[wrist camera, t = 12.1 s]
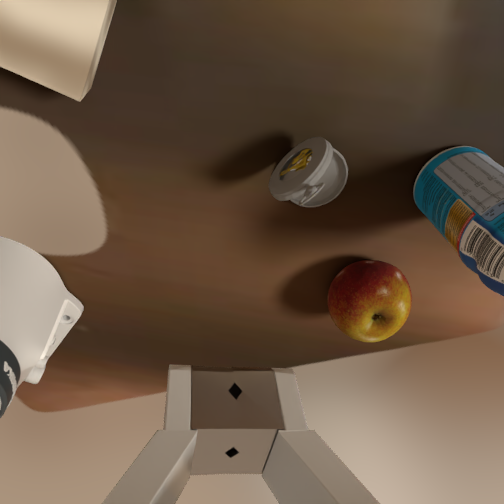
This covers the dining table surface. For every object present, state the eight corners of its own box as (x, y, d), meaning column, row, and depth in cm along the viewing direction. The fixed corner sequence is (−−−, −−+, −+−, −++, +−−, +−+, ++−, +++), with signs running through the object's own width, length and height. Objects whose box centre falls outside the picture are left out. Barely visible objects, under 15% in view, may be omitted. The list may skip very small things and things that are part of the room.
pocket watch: (332, 207, 44) (362, 263, 36) (256, 194, 42) (270, 251, 34) (360, 133, 40) (402, 179, 32) (277, 116, 38) (299, 159, 30)
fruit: (367, 233, 47) (395, 278, 40) (410, 273, 51) (441, 319, 45) (305, 284, 50) (321, 333, 44) (350, 317, 54) (370, 366, 48)
